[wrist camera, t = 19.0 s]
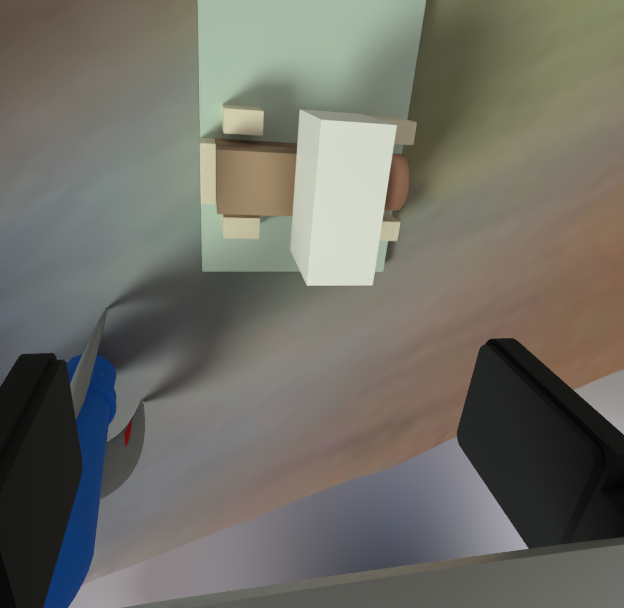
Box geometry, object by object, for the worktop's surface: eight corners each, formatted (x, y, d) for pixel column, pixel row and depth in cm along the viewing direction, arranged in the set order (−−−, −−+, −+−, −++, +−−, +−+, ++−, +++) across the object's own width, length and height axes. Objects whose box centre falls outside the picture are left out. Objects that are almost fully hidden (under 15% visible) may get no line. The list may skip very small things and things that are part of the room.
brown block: (215, 195, 35) (217, 214, 31) (215, 138, 34) (217, 149, 29) (382, 201, 38) (406, 219, 34) (390, 148, 36) (416, 160, 32)
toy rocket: (106, 298, 38) (-20, 611, 16) (194, 367, 43) (187, 687, 21) (15, 380, 40) (-211, 767, 18) (109, 439, 44) (19, 807, 22)
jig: (202, 265, 39) (202, 287, 35) (196, -114, 28) (195, -141, 25) (378, 266, 42) (395, 286, 38) (430, -74, 32) (461, -92, 28)
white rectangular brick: (290, 250, 33) (306, 285, 28) (299, 109, 29) (321, 119, 24) (346, 250, 34) (372, 285, 29) (362, 113, 30) (396, 125, 25)
